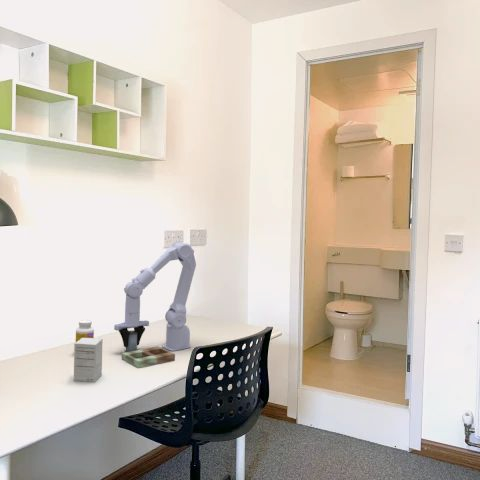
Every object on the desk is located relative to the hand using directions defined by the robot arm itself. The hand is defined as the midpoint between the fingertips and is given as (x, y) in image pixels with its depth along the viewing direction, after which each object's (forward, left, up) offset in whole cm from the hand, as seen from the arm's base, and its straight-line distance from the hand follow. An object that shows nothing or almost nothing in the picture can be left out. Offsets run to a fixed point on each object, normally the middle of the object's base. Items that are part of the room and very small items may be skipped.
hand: (131, 345), depth 190 cm
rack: (0, +13, -2) cm, 13 cm away
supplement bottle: (+16, -7, -3) cm, 18 cm away
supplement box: (+26, +18, -3) cm, 32 cm away
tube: (0, 0, -2) cm, 2 cm away
